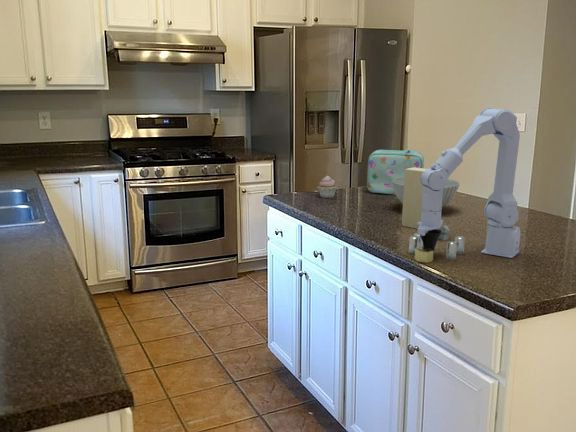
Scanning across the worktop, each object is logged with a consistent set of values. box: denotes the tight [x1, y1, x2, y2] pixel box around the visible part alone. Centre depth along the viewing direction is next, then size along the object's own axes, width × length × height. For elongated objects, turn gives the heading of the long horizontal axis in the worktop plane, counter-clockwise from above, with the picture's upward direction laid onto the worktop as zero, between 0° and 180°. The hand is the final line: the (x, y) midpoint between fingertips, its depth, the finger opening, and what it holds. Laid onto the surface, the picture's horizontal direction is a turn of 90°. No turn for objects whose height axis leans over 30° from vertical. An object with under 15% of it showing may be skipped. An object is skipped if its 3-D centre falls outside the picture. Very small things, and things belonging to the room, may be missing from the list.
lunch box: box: [366, 148, 426, 196], centre depth 267 cm, size 27×10×21 cm, turn 72°
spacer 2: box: [413, 232, 423, 248], centre depth 179 cm, size 3×3×5 cm
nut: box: [414, 247, 434, 263], centre depth 168 cm, size 5×5×3 cm
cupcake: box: [316, 175, 339, 199], centre depth 260 cm, size 9×9×10 cm
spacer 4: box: [454, 235, 466, 255], centre depth 175 cm, size 3×3×5 cm
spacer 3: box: [445, 240, 457, 261], centre depth 170 cm, size 3×3×5 cm
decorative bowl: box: [392, 177, 460, 209], centre depth 233 cm, size 27×27×12 cm
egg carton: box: [437, 224, 451, 241], centre depth 195 cm, size 11×8×4 cm
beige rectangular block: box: [401, 167, 427, 230], centre depth 207 cm, size 8×7×21 cm
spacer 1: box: [408, 235, 419, 255], centre depth 175 cm, size 3×3×5 cm
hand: (428, 253), depth 171 cm, fingers closed
